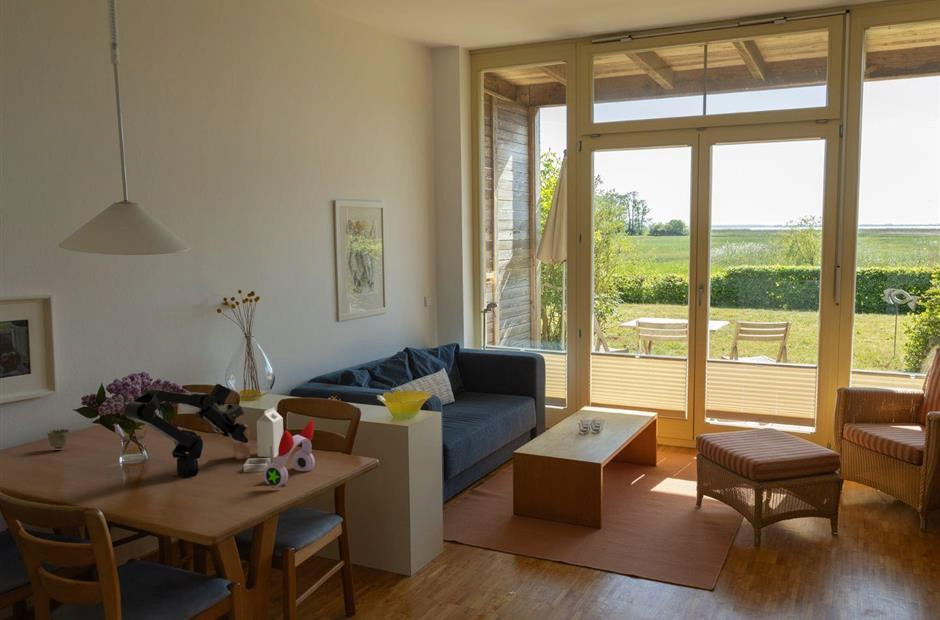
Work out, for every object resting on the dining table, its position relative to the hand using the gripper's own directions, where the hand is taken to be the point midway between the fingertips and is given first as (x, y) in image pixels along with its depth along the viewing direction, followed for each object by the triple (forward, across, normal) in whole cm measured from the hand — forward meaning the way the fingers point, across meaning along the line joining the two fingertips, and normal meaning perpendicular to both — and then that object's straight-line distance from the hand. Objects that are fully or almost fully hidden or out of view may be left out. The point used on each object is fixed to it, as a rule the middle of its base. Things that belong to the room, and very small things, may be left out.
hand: (244, 440), depth 291 cm
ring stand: (+3, -18, +8) cm, 20 cm away
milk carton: (+12, -4, -1) cm, 12 cm away
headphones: (+7, -34, +4) cm, 35 cm away
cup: (-30, +63, +41) cm, 81 cm away
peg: (+3, 0, +5) cm, 6 cm away
